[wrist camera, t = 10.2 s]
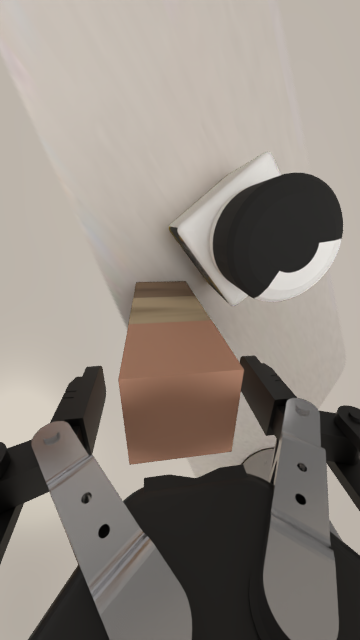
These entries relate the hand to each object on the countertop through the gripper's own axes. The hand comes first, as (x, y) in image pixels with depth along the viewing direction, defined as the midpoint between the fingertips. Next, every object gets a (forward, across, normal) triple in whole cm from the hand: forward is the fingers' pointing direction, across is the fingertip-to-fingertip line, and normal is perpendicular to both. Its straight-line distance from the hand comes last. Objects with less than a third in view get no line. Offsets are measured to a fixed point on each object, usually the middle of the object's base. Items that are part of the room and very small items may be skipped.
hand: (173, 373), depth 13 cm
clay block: (+2, 0, 0) cm, 2 cm away
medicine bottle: (+12, -6, -7) cm, 15 cm away
